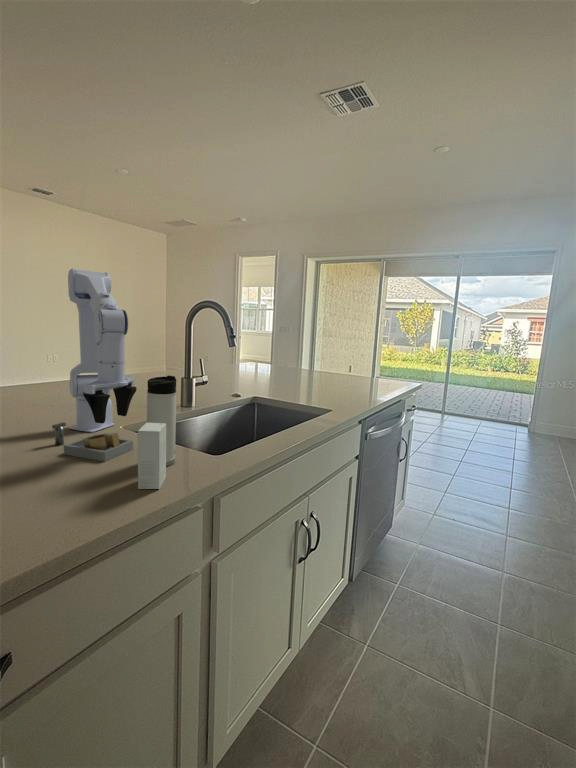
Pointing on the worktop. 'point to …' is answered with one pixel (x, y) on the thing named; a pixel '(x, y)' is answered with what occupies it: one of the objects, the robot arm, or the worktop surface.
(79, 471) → the worktop surface
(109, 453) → the tray
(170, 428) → the travel mug
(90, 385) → the robot arm
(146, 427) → the skincare box
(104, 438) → the ring
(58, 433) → the bolt
